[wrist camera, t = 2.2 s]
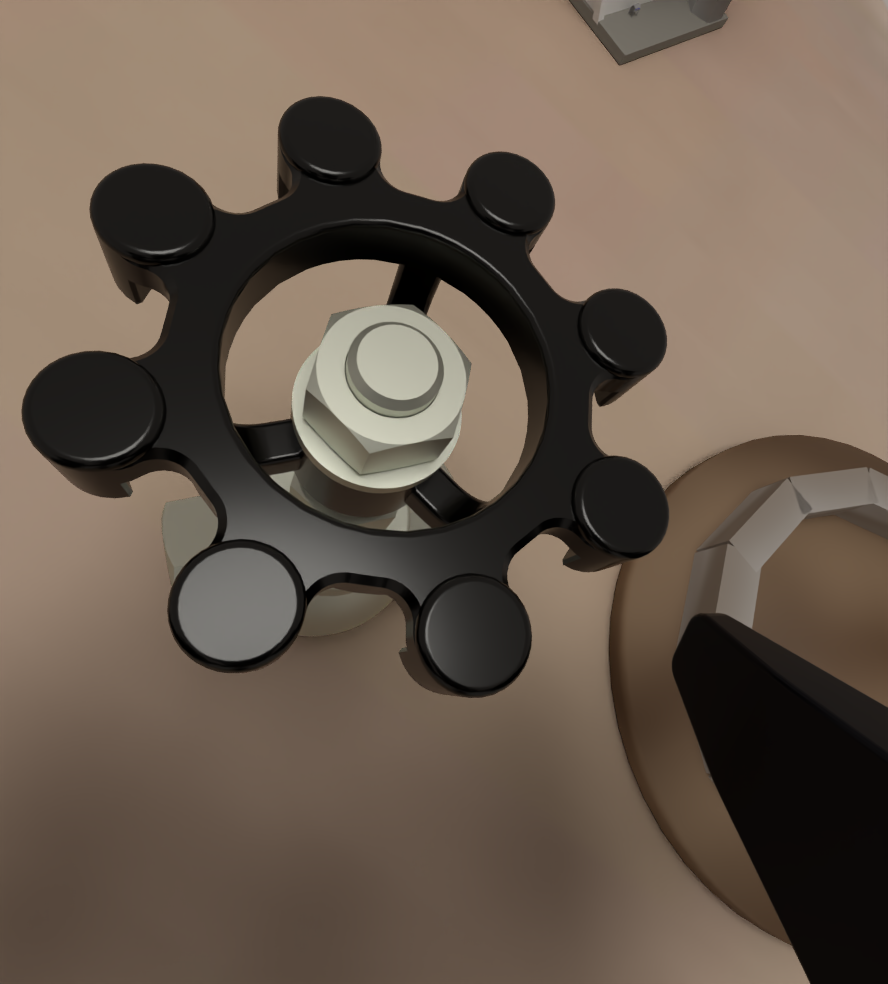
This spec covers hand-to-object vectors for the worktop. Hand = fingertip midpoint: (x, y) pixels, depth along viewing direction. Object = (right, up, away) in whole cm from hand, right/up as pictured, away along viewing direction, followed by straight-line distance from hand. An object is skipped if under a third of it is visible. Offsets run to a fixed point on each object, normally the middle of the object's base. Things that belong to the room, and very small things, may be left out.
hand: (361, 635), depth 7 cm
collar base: (+14, -4, +13) cm, 19 cm away
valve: (-3, 0, +10) cm, 10 cm away
